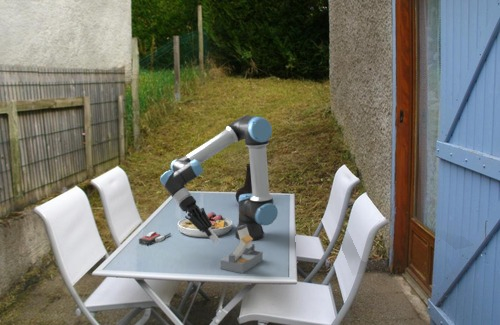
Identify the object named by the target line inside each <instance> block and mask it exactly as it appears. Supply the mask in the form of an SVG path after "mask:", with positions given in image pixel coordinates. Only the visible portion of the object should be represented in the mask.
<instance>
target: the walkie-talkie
mask: <svg viewBox="0 0 500 325" xmlns="http://www.w3.org/2000/svg"><path fill="white" fill-rule="evenodd" d="M171 234H172V233H171V232H170V233H167V234H165V235H161V234H160V233H157V232H156V231H150V232H148V233H147V234H146V235H144V236H142V237H140V238H138V244H140V245H146V246H151V245H152V244H155V243H160V242H162V241H165V239H166V238H167V237H169V236H170V235H171Z"/></svg>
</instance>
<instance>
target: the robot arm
mask: <svg viewBox="0 0 500 325" xmlns="http://www.w3.org/2000/svg"><path fill="white" fill-rule="evenodd" d="M272 134H273V128H272V124H271V123H270V121H268V119H267V118H264V117H261V116H254V115H244V116H242V117H240V118H238V119H236V120H235V121H233V122H231V123H230V124H227V125H226V127H225V129H224V130H222V131H221V132H220V133H219V134H217V135H215V136H214V137H212V138H211V139H208V140H207V141H206V142H204V143H202V145H199V146H198V147H197V148H195V149H193V150H192V151H190V152H189V153H187V154H186V155H184V156H183V157H181V158H176V159H174V160H172V162H171V163H170V169H168V170H167V171H165V172H164V173H163V174H162V175H161V176H160V178H159V182H160V183H161V185H163V187H164V189H165V190H166V191H167V193H168V194H169V195H170V196H171V198H172V199H173V200H174V201H175V203H176V204H177V205H178V207H179V208H180V210H181V211H182V212H185V213H186V215H185V217H184V219H185V218H187V219H188V220H189V221H190V222H191V223H192V224H193V225H194V226H195V227H196V228H198V229H199V230H200V231H202V232H205V233H206V234H207V235H208V236H209V237H208V238H209V239H210V240H211V242H212V243H213V244H215V243H217V241H218V240H219V239H220V238H219V236H217V235H216V234H215V233H214V231H213V230H212V229H211V226H212V223H211V222H210V220H209V218H208V216H207V215H208V214H207V213H206V210H205V208H204V207H201V208H200V207H199V206H198V205H197V200H196V199H195V197H194V196H193V195H192V194H191V192H190V191H189V190H188V189H187V187H186V185H187V184H189V183H190V182H192V181H193V180H195V179H196V178H199V176H200V175H202V174H203V172H204V168H203V166H202V165H201V164H203V163H204V162H205V161H207V160H209V159H210V158H212V157H214V156H215V155H216V154H218V153H219V152H221V151H222V150H224V149H226V148H227V147H228V146H230V145H231V144H233V143H238V142H240V141H242V140H244V143H245V146H246V147H247V148H248V154H249V155H248V156H249V157H248V158H249V164H250V170H251V183H252V194H242V195H240V196H239V201H238V202H239V203H238V202H237V203H238V224H237V227H239V226H241V225H245V224H247V229H248V232H249V236H251V237H252V238H253V240H252V241H257V240H259V241H260V240H262V239H263V238H265V236H264V234H265V233H264V229H263V226H269V225H271V224H273V222H275V220H276V219H277V217H278V213H279V211H278V207H277V206H276V205H275V204H274V197H273V196H274V195H272V194H270V186H269V185H270V184H269V183H270V182H269V170H268V157H267V156H268V154H267V146H268V145H269V144H270V141H269V140H270V138H271V136H272ZM237 227H236V228H237ZM234 234H235V235H234V236H235V238H236V239H238V240H240V238H239V234H238V231H237V230H236V229H235V233H234Z"/></svg>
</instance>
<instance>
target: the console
mask: <svg viewBox="0 0 500 325" xmlns="http://www.w3.org/2000/svg"><path fill="white" fill-rule="evenodd" d="M252 245H253V246H252V247H253V249H252V250H250V251H248V248H246V249H245V250H244V252H243V253H242V255H241V256H240V257H238V258H236V259H235V256H234V255H232V254H233V252H232V253H230V254H228V255H227V256H225V257H223V258H222V259H220V270H224V271H228V272H229V271H230V272H234V273H239V274H244V273H245V272H247V271H248V270H249V269H251V268H253V267H255V266H256V265H257V264H259V263H261V262H262V261H263V251H259V250H255V243H252Z"/></svg>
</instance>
